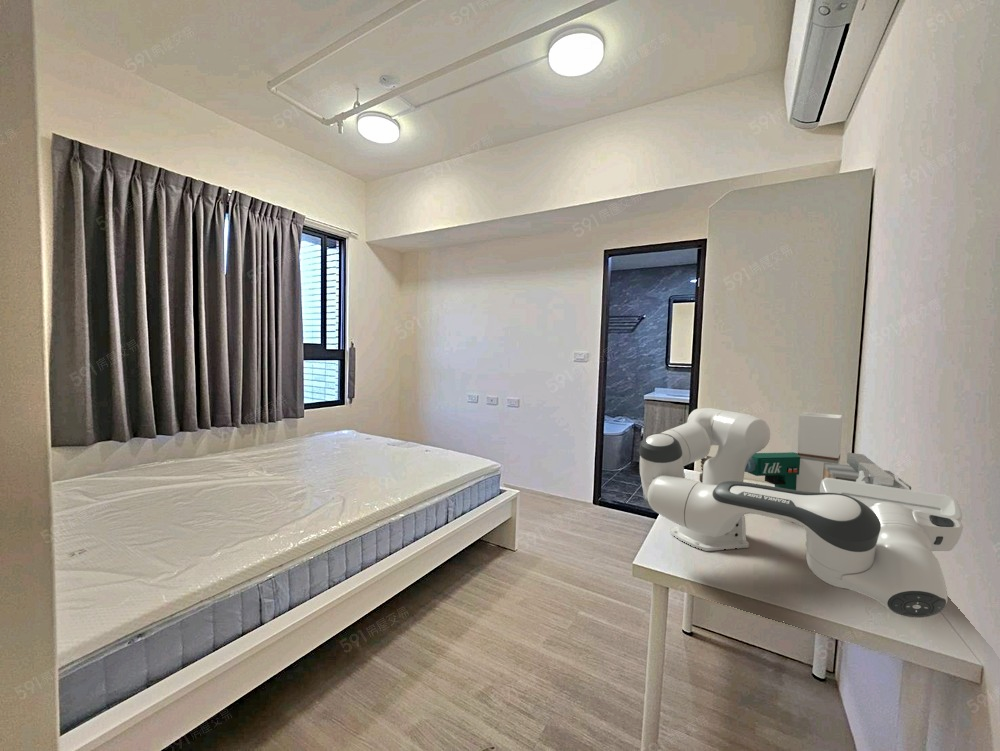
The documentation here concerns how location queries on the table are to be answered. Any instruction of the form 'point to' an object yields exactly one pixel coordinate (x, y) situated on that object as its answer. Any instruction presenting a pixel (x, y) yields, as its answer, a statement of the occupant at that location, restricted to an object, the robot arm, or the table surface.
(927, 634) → the table surface
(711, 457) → the brown carved figurine
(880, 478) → the brushed metal bar
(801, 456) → the white cradle pedestal
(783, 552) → the table surface
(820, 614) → the table surface
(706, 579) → the table surface
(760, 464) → the power tool
